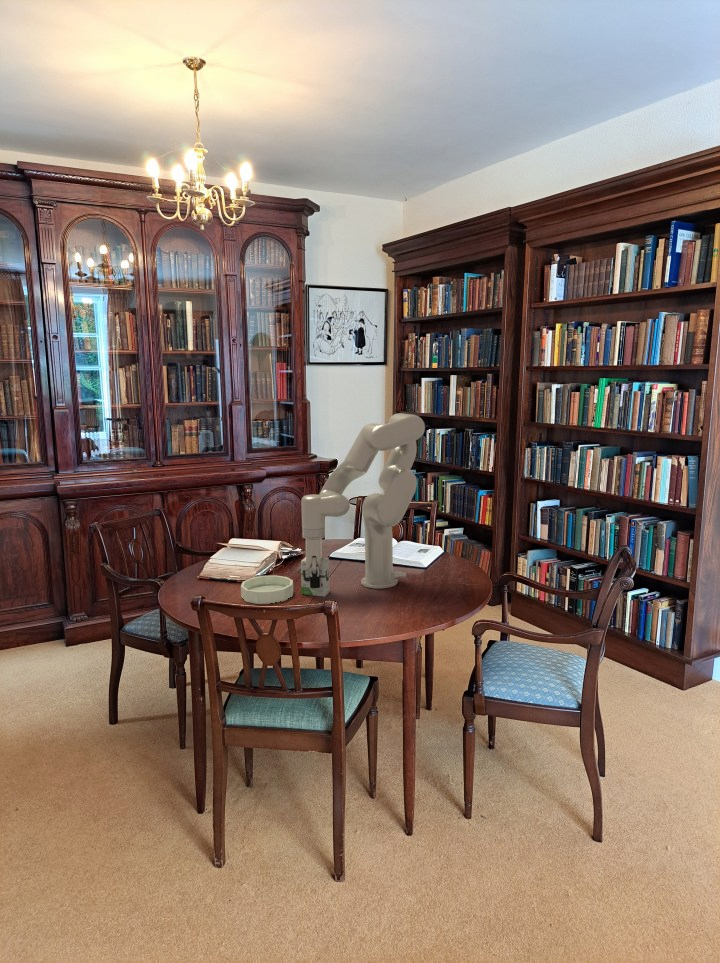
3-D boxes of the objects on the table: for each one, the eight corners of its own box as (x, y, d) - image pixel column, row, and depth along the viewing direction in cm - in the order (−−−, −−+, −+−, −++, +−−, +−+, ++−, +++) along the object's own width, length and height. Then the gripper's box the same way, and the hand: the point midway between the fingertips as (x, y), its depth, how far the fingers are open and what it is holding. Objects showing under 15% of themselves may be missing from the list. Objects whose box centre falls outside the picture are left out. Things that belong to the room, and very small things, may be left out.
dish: (294, 585, 223) (293, 574, 223) (291, 602, 207) (291, 590, 206) (245, 587, 222) (244, 576, 222) (238, 604, 206) (238, 592, 205)
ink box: (300, 594, 214) (299, 560, 212) (306, 589, 219) (305, 556, 217) (325, 596, 212) (324, 562, 210) (330, 592, 216) (329, 557, 214)
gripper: (303, 526, 220) (304, 576, 223) (301, 539, 203) (303, 593, 206) (325, 525, 221) (326, 575, 224) (325, 538, 204) (326, 592, 206)
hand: (315, 583), depth 215 cm, fingers open, 7 cm apart
